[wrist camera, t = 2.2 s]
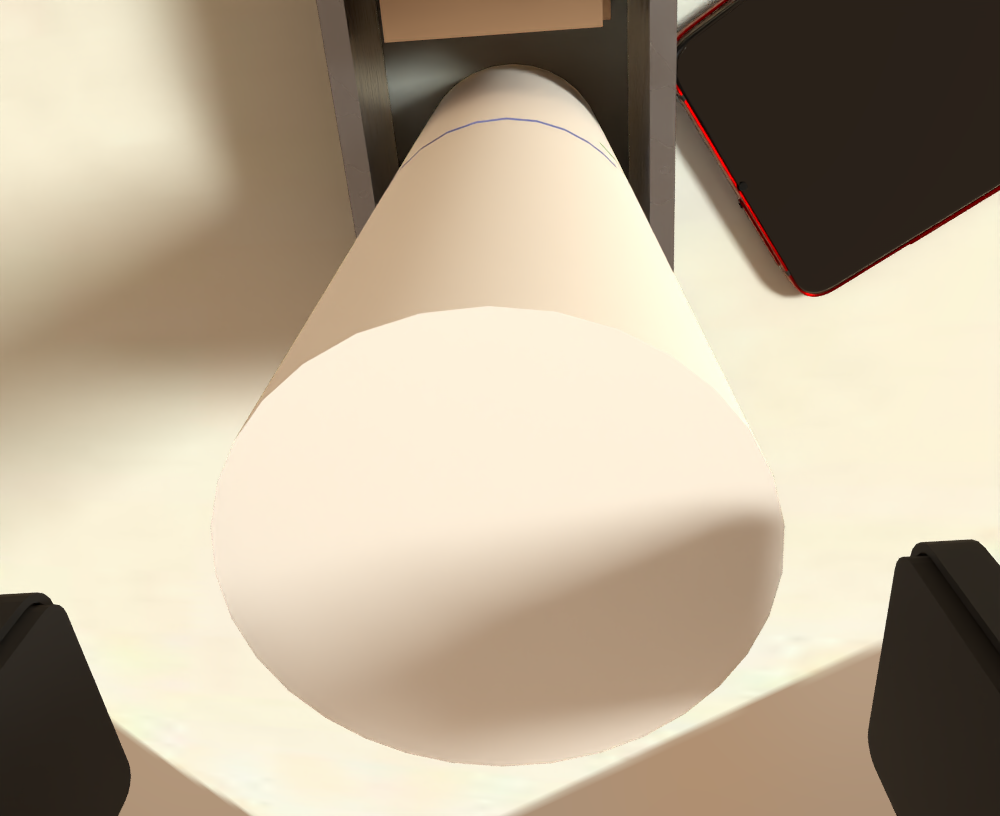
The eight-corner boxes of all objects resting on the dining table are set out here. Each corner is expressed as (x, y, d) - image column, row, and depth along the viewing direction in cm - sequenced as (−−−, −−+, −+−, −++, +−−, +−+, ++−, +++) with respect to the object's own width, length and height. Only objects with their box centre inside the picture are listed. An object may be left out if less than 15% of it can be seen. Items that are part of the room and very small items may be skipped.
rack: (318, -236, 27) (185, -368, 16) (649, -272, 26) (736, -436, 16) (397, 292, 35) (344, 433, 25) (649, 274, 35) (706, 410, 24)
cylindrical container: (482, 23, 30) (379, 176, 8) (641, 132, 32) (910, 502, 10) (389, 190, 33) (127, 634, 11) (539, 282, 35) (571, 827, 13)
